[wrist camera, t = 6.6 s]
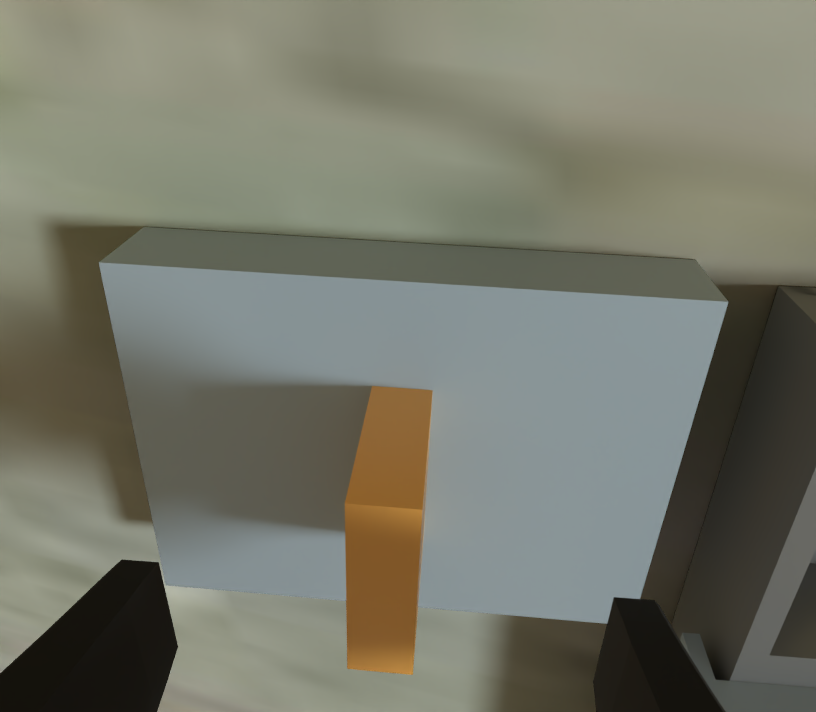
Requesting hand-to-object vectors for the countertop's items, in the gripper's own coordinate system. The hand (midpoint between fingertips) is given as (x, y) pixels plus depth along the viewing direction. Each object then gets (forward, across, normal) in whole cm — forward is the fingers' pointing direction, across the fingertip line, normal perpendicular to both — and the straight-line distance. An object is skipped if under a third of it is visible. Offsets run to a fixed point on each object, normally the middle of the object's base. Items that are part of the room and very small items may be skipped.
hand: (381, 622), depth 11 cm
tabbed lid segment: (+6, 0, 0) cm, 6 cm away
